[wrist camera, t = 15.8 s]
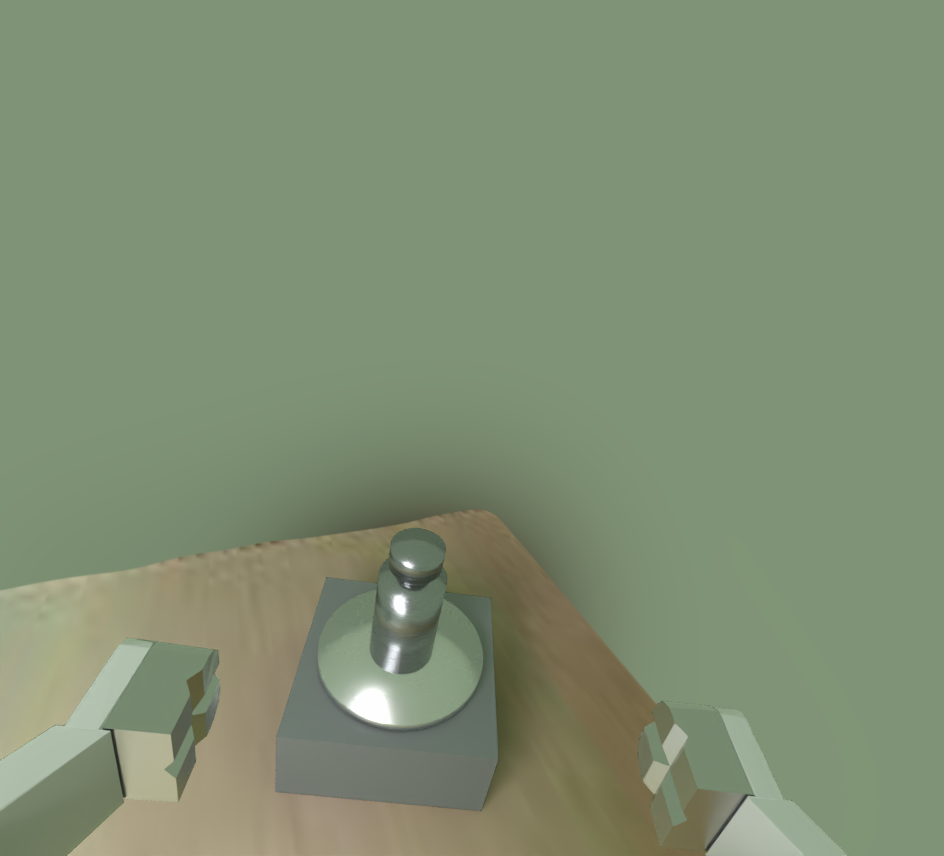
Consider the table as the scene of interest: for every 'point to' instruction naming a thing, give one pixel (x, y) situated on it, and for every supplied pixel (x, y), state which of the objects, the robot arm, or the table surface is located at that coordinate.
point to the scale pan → (398, 695)
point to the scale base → (383, 752)
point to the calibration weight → (408, 601)
